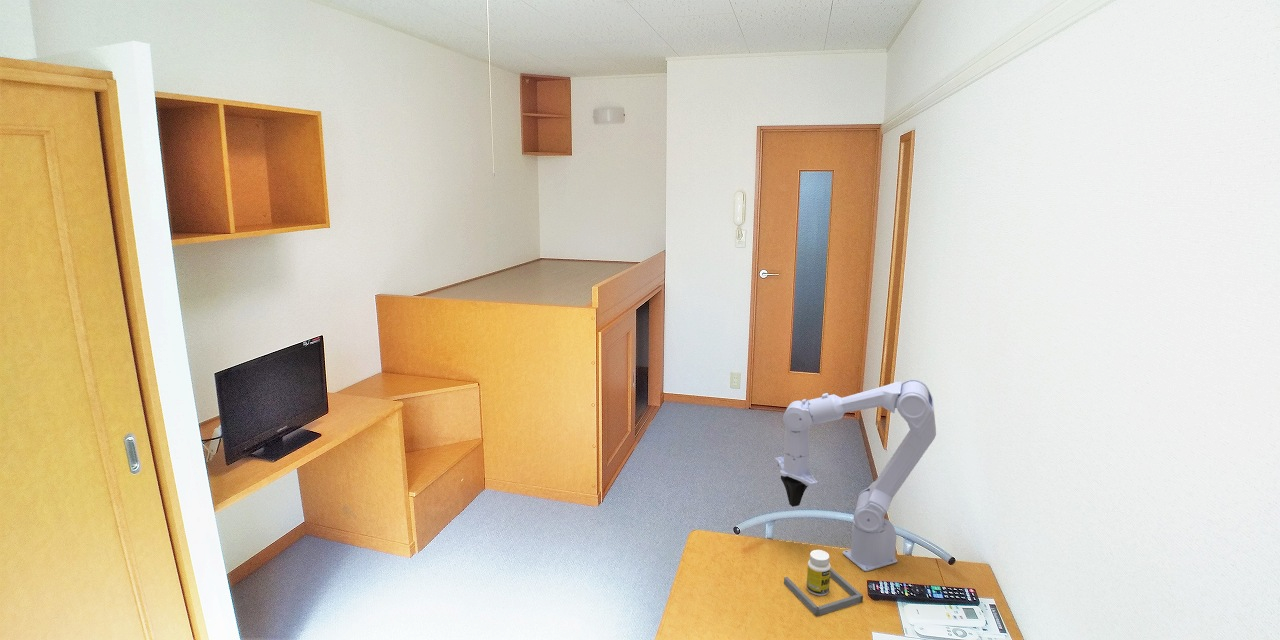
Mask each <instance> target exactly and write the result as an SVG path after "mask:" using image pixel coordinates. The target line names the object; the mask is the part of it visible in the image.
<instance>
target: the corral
mask: <svg viewBox="0 0 1280 640" xmlns="http://www.w3.org/2000/svg"><path fill="white" fill-rule="evenodd" d="M830 579H832V580H834V582H836V583H837V584H838V586H840V587H841V588H842V589H843V590H844V591H845V592H847V593H848V594H849V595H850V596H848V597H845V598H841V599H839V600H835V601H832V602H829V603H826V604H822V605H817V604H816V603H814V602H813V600H811V598H810V597H809V596H807V594H805V593H804V592H803V591H802V590H801V589H800V587H798V586H797V585H796V584H795V583H794V582H793V581H792V580H791V579H790V578H789V577H788V576H785V577H783V584H784V586H786V587H787V589H789V591H791V592H792V594H793V595H794V596H795V597H796V598H797V599H798V600H799V601H800V602H801V603H803V605H804V606H805V607H806V608H807V609H808V610H809V611H810V612H811V613H812V614H813V615H814V616H815V617H816V618H817V617H820V616H822V615H827V614H829V613H832V612H836V611H839V610H842V609H846V608H848V607H851V606H854V605H858V604H861V603H863V601H864V596H863V594H862V593H861V592H859V590H857V589H856V588H855V587H853V585H851V584H850V583H849V582H848V581H847V580H846V579H844V577H842V575H840V573H838V572H836V571H835V570H834V568H832V567H831V569H830Z"/></svg>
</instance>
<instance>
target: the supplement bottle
mask: <svg viewBox="0 0 1280 640" xmlns="http://www.w3.org/2000/svg"><path fill="white" fill-rule="evenodd" d="M831 568H832V567H831V563H830V554H829V553H828V552H827V551H825V550H822V549H814V550H811V552H810V553H809V560H808V561H807V571H806V573H807V574H806V589H807V591H808V592H809V593H810V594H812V595H815V596H819V597H820V596H825V595H828V594H829V593H830V587H831V586H830V584H831V582H830V581H831V577H830V569H831Z"/></svg>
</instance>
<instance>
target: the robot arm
mask: <svg viewBox="0 0 1280 640" xmlns="http://www.w3.org/2000/svg"><path fill="white" fill-rule="evenodd" d="M881 407H882V408H883V409H885V410H887V411H888V412H890V413H893V414H895V413H896V411H895V410H897V412H898V414H899V415H900V416H901V417H902V418H903V419H904V421H905V422H906V423H907V426H908V428H909V431H908V432H907V434H905V436H904V438H903V440H901V442H900V444H899V445H898V447H897V449H896V450H895V452H894V453H893V454H892V456H891V457H890V459H889V460H888V462H887V463H886V465H885V466H884V468H883V469H882V471H881V472H880V474H879V475H878V476H877V478H876V479H875V480H874V481H873V482H872V483H870V485H869V486H868V487H867V488H865V489H863V490H861V491H860V492H859V493H858V495H857V497H856V498H857V499H856V500H857V501H856V507H855V510H854V513H853V518H852V527H851V528H852V529H851V541H850V542H851V543H850V544H851V545H850V548H849V549H846V550H843V551H842V555H844V556H845V557H846V558H847V559H848V560H849V561H851V562H853V564H855V565H856V566H857V567H858V568H859V569H861V570H862V571H863V572H869V571H872V570H876V569H879V568H882V567H886V566H889V565H892V564H896V563H898V559H897V558H896V548H897V531H896V528H895V526H894V525H893V523H892V522H891V521H890V520H888V519H886V518H885V516H886V514H887V512H888V510H889V509H890V506H891V503H892V501H893V498H894V497H895V496H896V494H897V493H898V491H899V490H900V488H902V486H903V485H904V483H905V482H906V480H907V479H908V477H909V476H910V475H911V473H912V471H913V470H914V469H915V467H916V466H917V464H918V463H919V462H920V460H921V459H922V457H923V455H924V454H925V453H926V451H927V450H928V448H929V447H930V446H931V444H932V443H933V442H934V440H935V438H936V436H937V428H936V427H937V426H936V417H935V406H934V398H933V396H932V394H931V392H930V390H929V388H928V386H927V385H926V384H925V383H924V382H923V381H920V380H919V379H908V380H905V381H903V382H902V381H894V382H891V383H889V384H886V385H882V386H879V387H876V388H873V389H868V390H864V391H862V392H859V393H858V392H857V393H854V394H851V395H848V396H842V397H840V396H838V395H836V394H834V393H833V394H830V395H829V393H828V392H826V393H822V395H821V397H816V398H812V399H808V400H807V398H804V399H801V400H794V401H792V402H790V404H789V405H788V406H787V407H786V410H785V411H784V414H783V416H782V420H783V421H782V422H783V424H784V426H785V427H784V429H785V430H784V434H783V435H784V437H783V439H784V440H783V442H784V443H783V456H778V457H775V458H774V465H775V466H776V467H779V468H780V470H779V474H780V475H781V476H780V479H781V482H782V483H783V486H784V487H785V492H786V495H787V499H788V503H789V505H790V506H791V507H793V508H794V507H797V506H798V507H799V506H800V505H801V501H802V499H803V497H804V496H803V495H804V493H805V491H806V489H807V488H808V491H810V492H811V491H812V492H813V491H817V490H818V489H819V481H818V480H816V479H815V477H814V476H813V473H811V471H810V469H809V464H810V463H809V461H810V460H809V458H810V426H816V425H820V424H824V423H829V422H833V421H838V420H841V419H842V418H843V417H844V416H845V415H844V414H846V413H850V412H856V411H862V410H869V409H873V408H874V409H875V408H881ZM849 550H851V551H849Z"/></svg>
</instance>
